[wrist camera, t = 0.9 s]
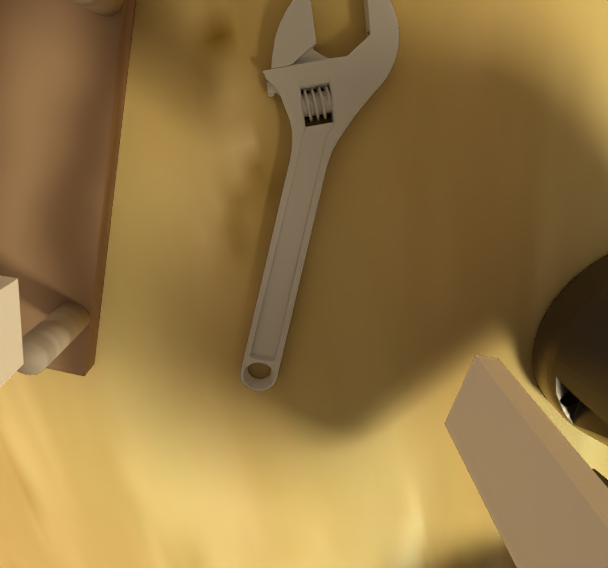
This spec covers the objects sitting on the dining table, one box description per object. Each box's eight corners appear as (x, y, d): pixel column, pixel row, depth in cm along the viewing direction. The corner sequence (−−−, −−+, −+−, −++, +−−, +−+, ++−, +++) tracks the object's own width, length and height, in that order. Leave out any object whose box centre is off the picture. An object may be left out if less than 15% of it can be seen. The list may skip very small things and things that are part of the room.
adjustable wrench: (274, 382, 31) (273, 397, 29) (191, 360, 30) (184, 375, 28) (407, 11, 22) (416, 3, 20) (292, -35, 21) (291, -48, 19)
